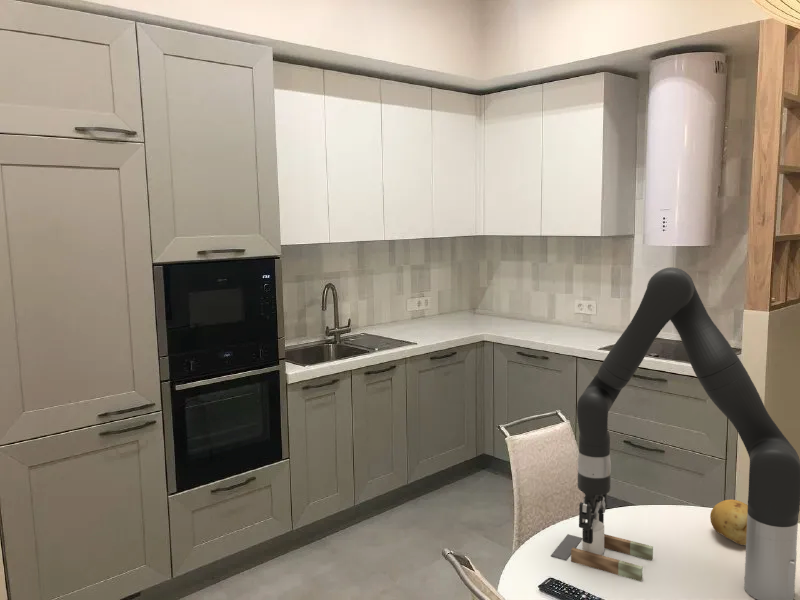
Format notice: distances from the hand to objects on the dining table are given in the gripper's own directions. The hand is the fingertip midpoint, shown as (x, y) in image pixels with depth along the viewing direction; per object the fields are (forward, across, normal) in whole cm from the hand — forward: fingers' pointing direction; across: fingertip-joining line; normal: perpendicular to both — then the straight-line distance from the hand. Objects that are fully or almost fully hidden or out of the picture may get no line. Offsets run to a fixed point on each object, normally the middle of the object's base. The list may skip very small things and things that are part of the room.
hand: (593, 534), depth 152 cm
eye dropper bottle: (+5, 0, 0) cm, 5 cm away
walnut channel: (+5, 0, -4) cm, 7 cm away
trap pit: (+5, 0, +6) cm, 8 cm away
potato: (+5, +25, -28) cm, 38 cm away
